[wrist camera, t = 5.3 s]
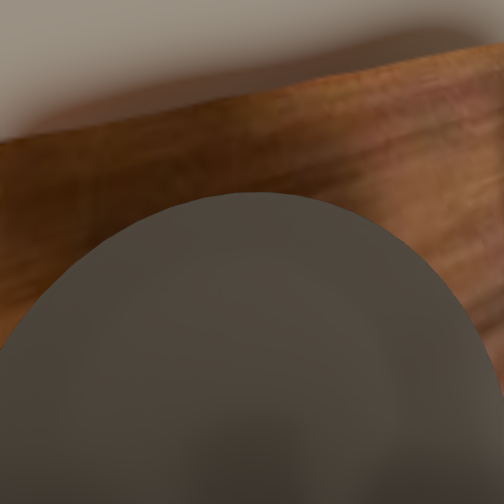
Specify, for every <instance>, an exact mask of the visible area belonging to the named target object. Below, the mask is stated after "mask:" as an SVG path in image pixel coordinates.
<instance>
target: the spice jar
mask: <svg viewBox="0 0 504 504" xmlns="http://www.w3.org/2000/svg"><path fill="white" fill-rule="evenodd" d="M0 504H504V400H503V396H502V392H501V389H500V386H499V383H498V380H497V377H496V374H495V371H494V369H493V366H492V363H491V360H490V358H489V356H488V354H487V352H486V349H485V347H484V345H483V343H482V340H481V338H480V336H479V334H478V332H477V330H476V329H475V327H474V325H473V324H472V322H471V320H470V318H469V317H468V315H467V313H466V311H465V310H464V308H463V307H462V305H461V304H460V302H459V301H458V300H457V298H456V297H455V296H454V294H453V293H452V291H451V290H450V289H449V287H448V286H447V285H446V283H445V282H444V281H443V280H442V279H441V278H440V277H439V276H438V274H437V273H436V272H435V271H434V270H433V269H432V268H431V267H430V266H429V265H428V263H427V262H426V261H425V260H423V259H422V258H421V257H420V256H419V255H418V254H417V253H415V252H414V251H413V250H412V249H411V248H410V247H409V246H407V245H406V244H405V243H404V242H403V241H401V240H400V239H398V238H397V237H395V236H394V235H392V234H391V233H390V232H388V231H387V230H385V229H384V228H382V227H381V226H379V225H377V224H375V223H373V222H371V221H370V220H368V219H366V218H364V217H362V216H360V215H358V214H356V213H354V212H352V211H349V210H346V209H344V208H341V207H338V206H336V205H333V204H330V203H328V202H324V201H320V200H315V199H311V198H307V197H303V196H299V195H290V194H281V193H271V192H251V193H232V194H225V195H219V196H212V197H206V198H201V199H198V200H194V201H191V202H187V203H184V204H180V205H177V206H173V207H170V208H168V209H165V210H163V211H161V212H158V213H156V214H154V215H151V216H149V217H147V218H144V219H142V220H140V221H137V222H136V223H134V224H132V225H130V226H129V227H127V228H125V229H124V230H122V231H120V232H118V233H117V234H115V235H113V236H112V237H110V238H108V239H106V240H105V241H103V242H102V243H101V244H99V245H98V246H97V247H95V248H94V249H93V250H91V251H90V252H89V253H87V254H86V255H85V256H84V257H82V258H81V259H80V260H78V261H77V262H76V263H74V264H73V265H72V266H71V267H70V268H69V269H68V270H67V271H66V272H65V273H63V274H62V275H61V276H60V277H59V278H58V279H57V280H56V281H55V282H54V283H53V284H52V285H51V286H50V287H49V288H48V289H47V290H46V291H45V292H44V293H43V294H42V295H41V296H40V297H39V298H38V300H37V301H36V302H35V303H34V305H33V306H32V307H31V308H30V310H29V311H28V312H27V313H26V315H25V316H24V317H23V318H22V320H21V321H20V322H19V323H18V325H17V326H16V327H15V328H14V330H13V331H12V332H11V334H10V335H9V337H8V339H7V340H6V342H5V343H4V345H3V347H2V348H1V350H0Z"/></svg>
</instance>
